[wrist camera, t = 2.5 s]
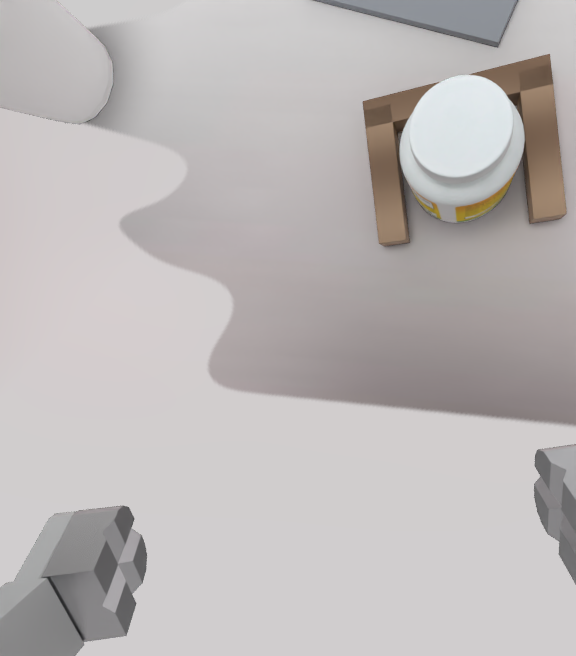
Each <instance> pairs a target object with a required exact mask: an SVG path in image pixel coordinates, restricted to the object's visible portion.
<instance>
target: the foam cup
mask: <svg viewBox="0 0 576 656" xmlns="http://www.w3.org/2000/svg"><path fill="white" fill-rule="evenodd" d="M113 83H114V82H113V62H112V60H111V58H110V56H109V54H108V52H107V50H106V48H105V45H103V44H102V43H101V42H100V41H99V39H98V38H96V37H95V36H94V35H93V34H92V33H91V32H90V31H89V30H88V29H87V28H86V27H85V26H84V25H83V24H82V23H81V22H79V21H78V20H77V19H76V18H75V17H74V16H73V15H72V14H71V13H70V12H69V11H68V10H67V9H65V8H64V7H63V6H62V5H61V4H60V3H59V2H58V1H57V0H0V108H4V109H8V110H12V111H16V112H21V113H25V114H29V115H33V116H38V117H42V118H46V119H50V120H55V121H61V122H65V123H73V124H82V123H84V122H86V121H88V120H90V119H93V118H95V117H96V116H97V114H98V113H99V112H100V111H101V110H102V108H103V107H104V106H105V105H106V103H107V102H108V99H109V95H110V92H111V89H112V86H113Z"/></svg>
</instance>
